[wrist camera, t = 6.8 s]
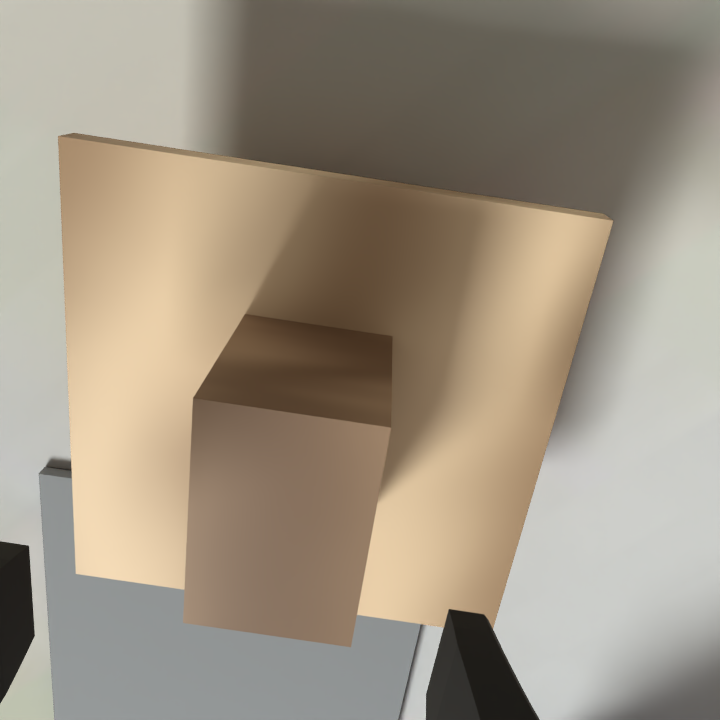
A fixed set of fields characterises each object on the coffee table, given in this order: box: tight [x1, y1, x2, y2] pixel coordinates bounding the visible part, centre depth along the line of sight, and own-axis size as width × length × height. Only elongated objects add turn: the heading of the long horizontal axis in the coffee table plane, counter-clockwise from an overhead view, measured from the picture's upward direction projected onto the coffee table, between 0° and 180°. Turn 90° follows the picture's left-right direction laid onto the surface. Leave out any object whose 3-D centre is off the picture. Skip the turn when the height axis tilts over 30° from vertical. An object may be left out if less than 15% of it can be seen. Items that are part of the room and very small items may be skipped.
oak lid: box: [58, 133, 613, 647], centre depth 14 cm, size 11×11×5 cm
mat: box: [39, 467, 421, 720], centre depth 24 cm, size 13×13×1 cm
